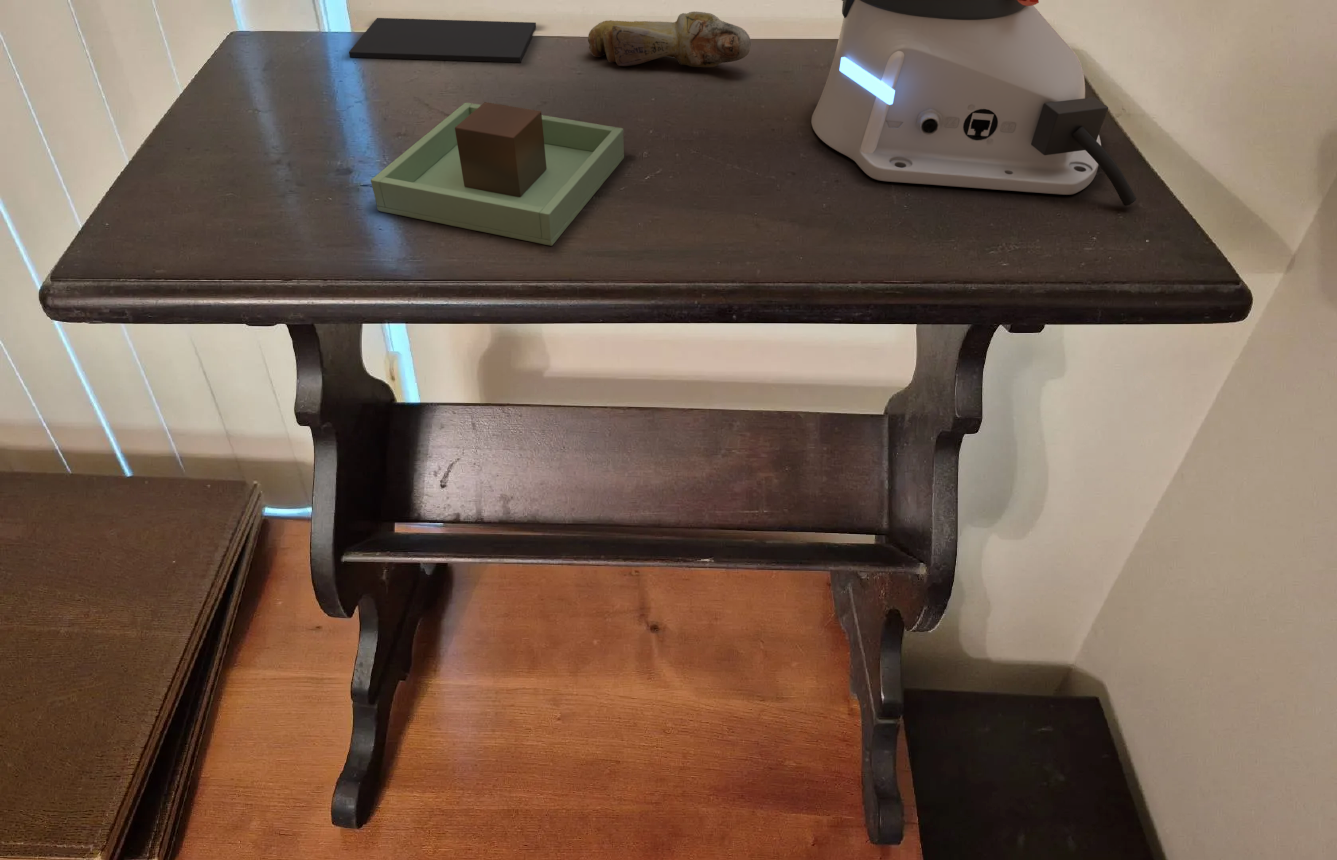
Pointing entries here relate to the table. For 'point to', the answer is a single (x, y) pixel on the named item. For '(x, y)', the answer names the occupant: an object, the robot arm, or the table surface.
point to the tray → (437, 193)
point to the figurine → (671, 41)
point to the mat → (445, 40)
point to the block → (501, 149)
